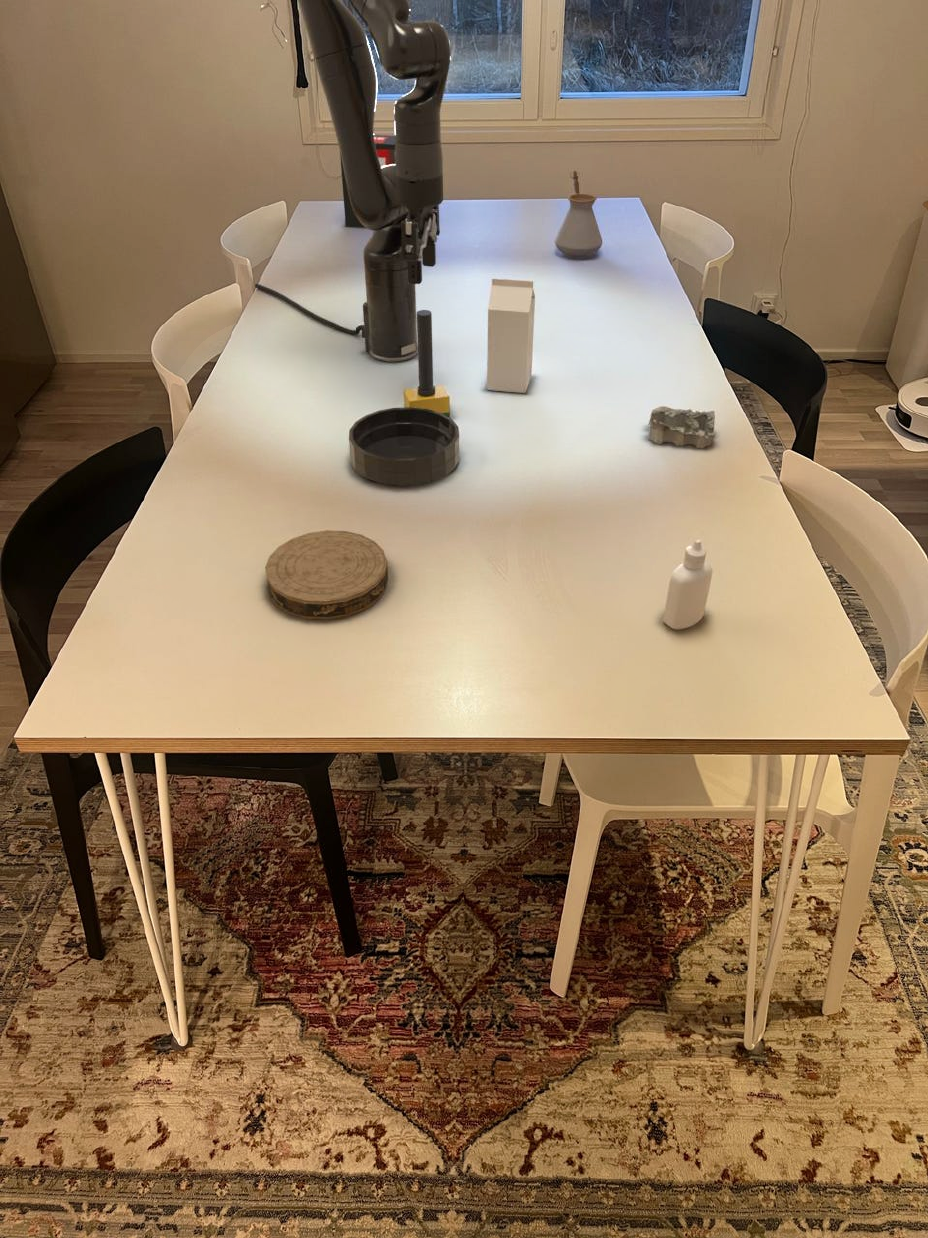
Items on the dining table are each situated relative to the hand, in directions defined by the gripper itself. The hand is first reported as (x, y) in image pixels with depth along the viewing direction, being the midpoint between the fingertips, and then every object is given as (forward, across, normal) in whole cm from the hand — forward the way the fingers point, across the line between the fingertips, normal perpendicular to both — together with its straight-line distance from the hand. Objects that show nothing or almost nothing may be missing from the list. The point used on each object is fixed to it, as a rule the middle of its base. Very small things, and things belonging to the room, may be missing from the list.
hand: (422, 274), depth 159 cm
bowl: (+20, +27, +4) cm, 34 cm away
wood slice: (+20, +60, +3) cm, 64 cm away
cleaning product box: (+20, -91, -38) cm, 100 cm away
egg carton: (+21, +8, +46) cm, 51 cm away
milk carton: (+20, -4, +15) cm, 26 cm away
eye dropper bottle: (+21, +57, +50) cm, 78 cm away
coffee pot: (+20, -84, +15) cm, 87 cm away
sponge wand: (+20, +11, +3) cm, 23 cm away
